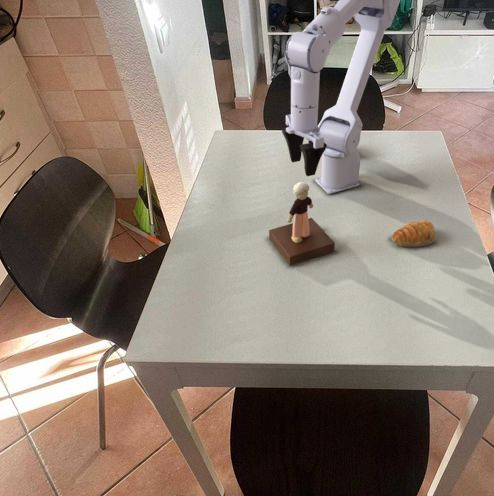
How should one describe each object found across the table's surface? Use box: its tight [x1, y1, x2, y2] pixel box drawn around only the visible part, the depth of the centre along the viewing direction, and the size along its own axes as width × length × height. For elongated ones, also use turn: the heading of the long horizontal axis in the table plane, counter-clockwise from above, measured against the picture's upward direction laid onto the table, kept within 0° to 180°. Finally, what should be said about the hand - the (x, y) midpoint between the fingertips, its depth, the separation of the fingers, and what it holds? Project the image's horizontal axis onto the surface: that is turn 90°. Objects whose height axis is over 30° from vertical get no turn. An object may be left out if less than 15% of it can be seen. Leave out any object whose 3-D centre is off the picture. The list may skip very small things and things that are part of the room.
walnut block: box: [268, 217, 336, 267], centre depth 96 cm, size 11×11×2 cm
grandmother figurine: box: [286, 181, 314, 243], centre depth 90 cm, size 8×4×13 cm, turn 149°
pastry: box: [391, 219, 437, 248], centre depth 96 cm, size 9×7×4 cm
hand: (302, 167), depth 99 cm, fingers open, 7 cm apart
